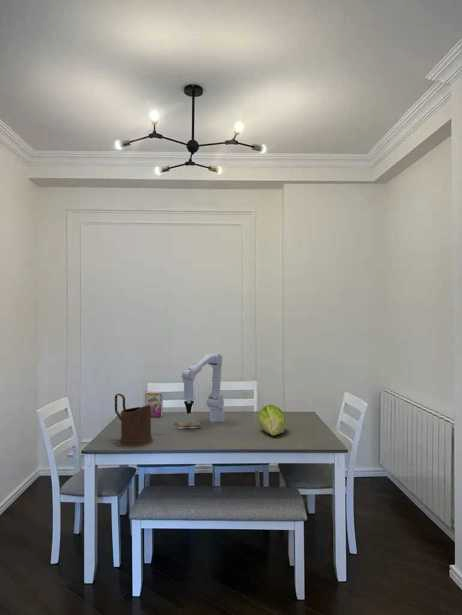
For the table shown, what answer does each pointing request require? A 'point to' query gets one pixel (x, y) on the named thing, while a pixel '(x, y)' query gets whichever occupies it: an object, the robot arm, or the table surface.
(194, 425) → the flip panel
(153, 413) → the candy bar box
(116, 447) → the table surface
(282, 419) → the lettuce
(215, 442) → the table surface
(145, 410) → the brown metal pitcher
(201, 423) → the grey long block
